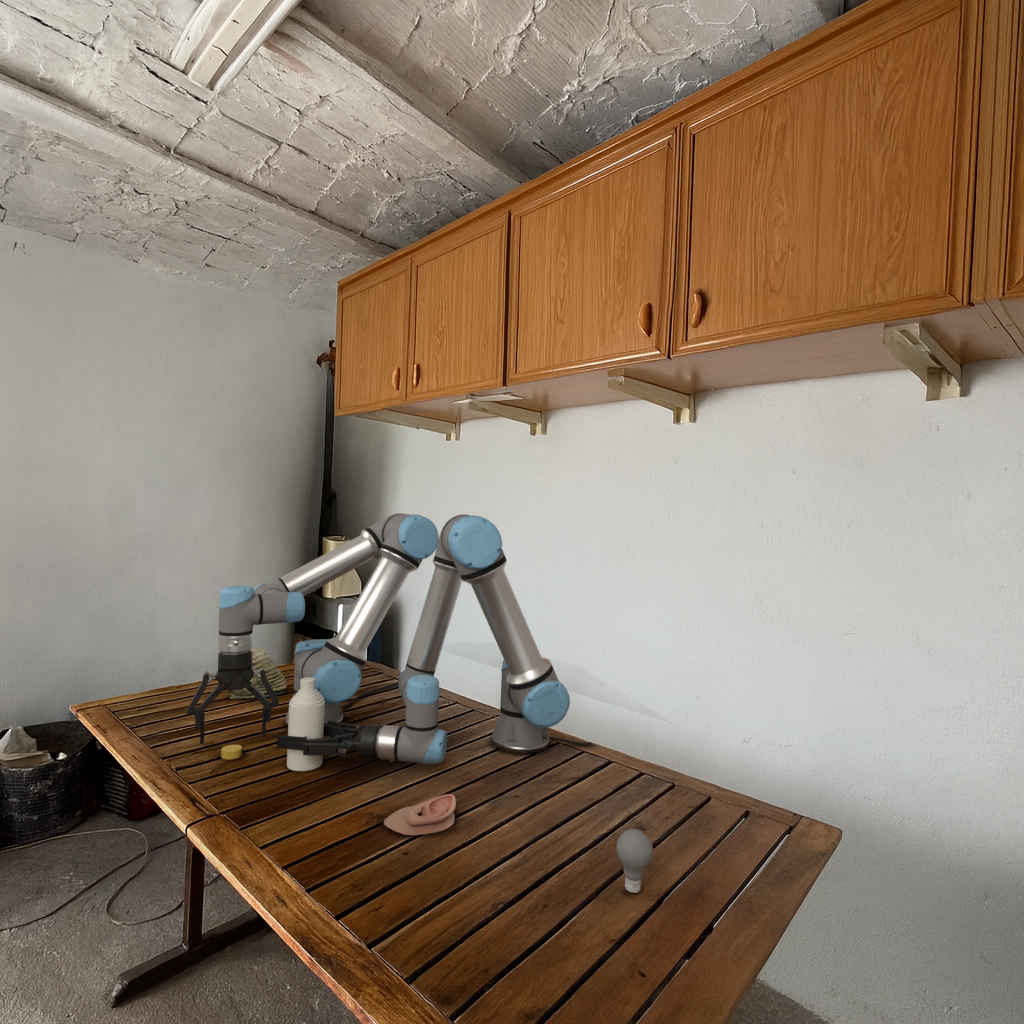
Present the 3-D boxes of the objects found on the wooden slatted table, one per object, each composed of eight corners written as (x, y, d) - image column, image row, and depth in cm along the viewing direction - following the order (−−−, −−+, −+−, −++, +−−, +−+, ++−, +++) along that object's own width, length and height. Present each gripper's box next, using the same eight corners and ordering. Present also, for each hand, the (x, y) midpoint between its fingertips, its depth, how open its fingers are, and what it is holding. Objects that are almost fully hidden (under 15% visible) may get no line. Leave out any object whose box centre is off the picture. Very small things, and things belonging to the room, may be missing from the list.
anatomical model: (377, 810, 121) (400, 784, 132) (376, 830, 121) (399, 803, 132) (444, 820, 118) (461, 792, 129) (443, 841, 118) (460, 812, 129)
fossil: (218, 695, 195) (220, 647, 195) (278, 685, 208) (279, 640, 207) (228, 703, 189) (230, 653, 188) (289, 692, 201) (290, 645, 201)
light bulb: (610, 879, 108) (613, 822, 108) (644, 879, 109) (647, 822, 109) (619, 902, 102) (622, 840, 102) (655, 901, 103) (658, 840, 103)
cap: (240, 758, 151) (240, 751, 151) (219, 760, 150) (219, 752, 150) (243, 751, 155) (243, 744, 155) (222, 752, 154) (223, 745, 154)
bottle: (279, 766, 148) (282, 680, 147) (303, 754, 155) (306, 672, 154) (306, 773, 144) (309, 686, 144) (329, 761, 152) (332, 677, 151)
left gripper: (175, 658, 144) (173, 751, 144) (291, 651, 154) (289, 737, 154) (178, 650, 150) (176, 739, 151) (289, 644, 160) (287, 727, 161)
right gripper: (365, 777, 138) (264, 768, 140) (391, 741, 158) (304, 734, 160) (366, 743, 137) (265, 735, 139) (393, 711, 158) (305, 704, 160)
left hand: (233, 738), depth 153 cm, fingers open, 13 cm apart
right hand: (286, 734), depth 150 cm, fingers closed on bottle, 8 cm apart
